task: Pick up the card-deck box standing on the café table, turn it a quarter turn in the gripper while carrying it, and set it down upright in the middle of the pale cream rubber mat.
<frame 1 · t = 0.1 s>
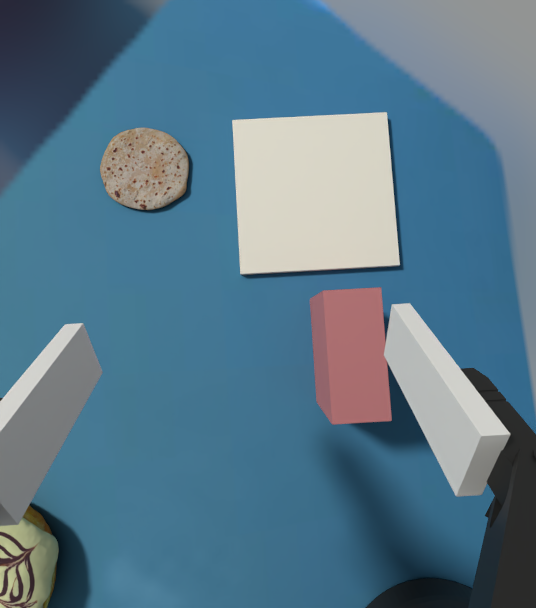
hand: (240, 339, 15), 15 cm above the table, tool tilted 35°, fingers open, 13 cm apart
serving mat: (314, 194, 31), on the table
flatbread: (148, 173, 31), on the table
decorated donut: (8, 557, 29), on the table
card deck box: (335, 348, 30), on the table
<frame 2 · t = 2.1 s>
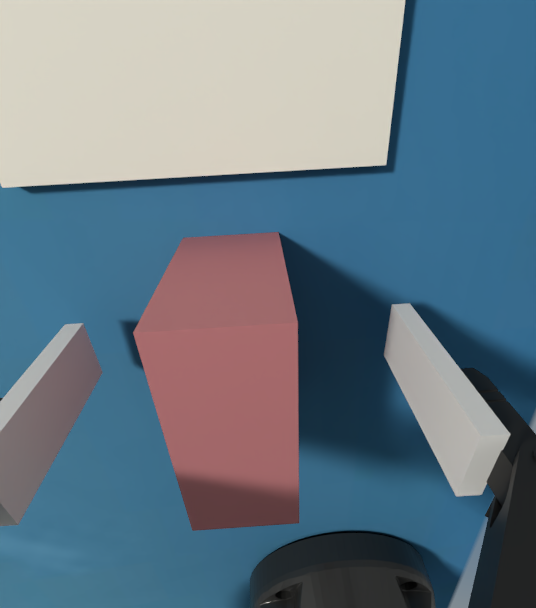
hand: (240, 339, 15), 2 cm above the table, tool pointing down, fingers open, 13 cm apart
card deck box: (240, 323, 17), on the table
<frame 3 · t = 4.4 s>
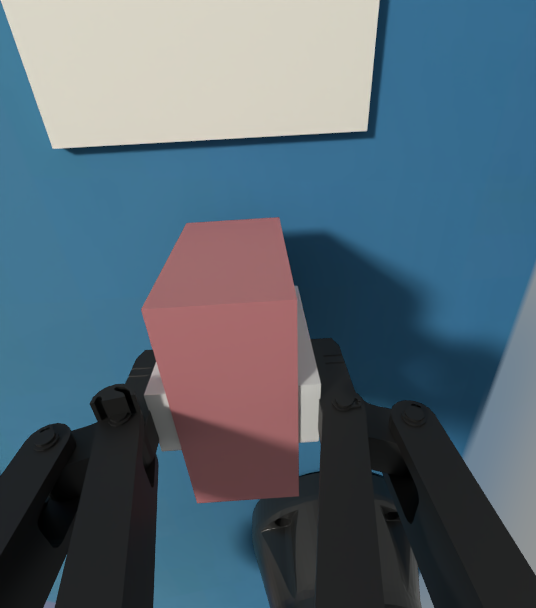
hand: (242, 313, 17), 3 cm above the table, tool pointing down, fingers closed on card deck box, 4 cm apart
card deck box: (242, 308, 17), point 3 cm above the table, touching gripper
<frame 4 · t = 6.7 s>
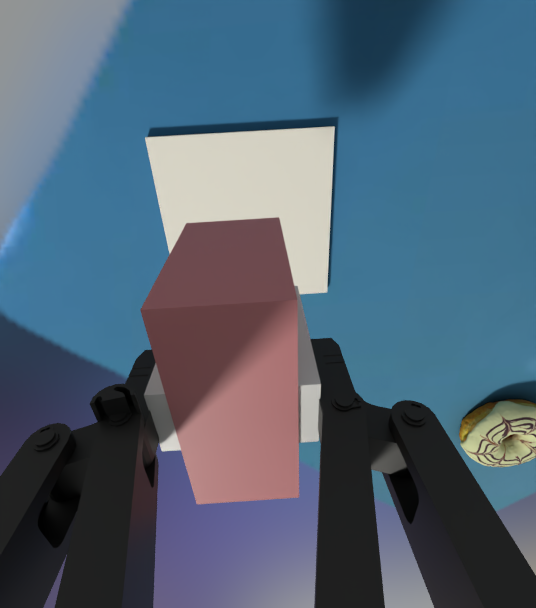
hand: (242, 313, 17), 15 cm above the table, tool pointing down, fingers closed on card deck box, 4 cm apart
serving mat: (247, 222, 29), on the table
decorated donut: (496, 419, 44), on the table
card deck box: (242, 308, 17), point 14 cm above the table, touching gripper
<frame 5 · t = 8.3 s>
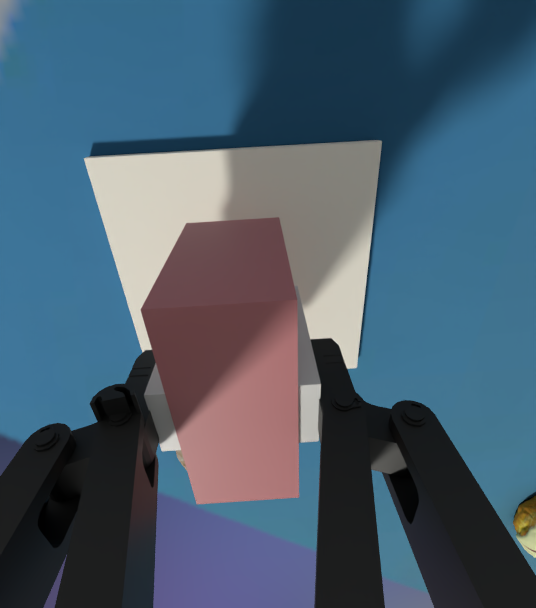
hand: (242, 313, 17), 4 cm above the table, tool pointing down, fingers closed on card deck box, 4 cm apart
serving mat: (245, 277, 20), on the table
card deck box: (242, 308, 17), point 4 cm above the table, touching gripper
when the fingers open (1 cm above the table, at t = 9.2 s): card deck box stays where it is, resting on serving mat.
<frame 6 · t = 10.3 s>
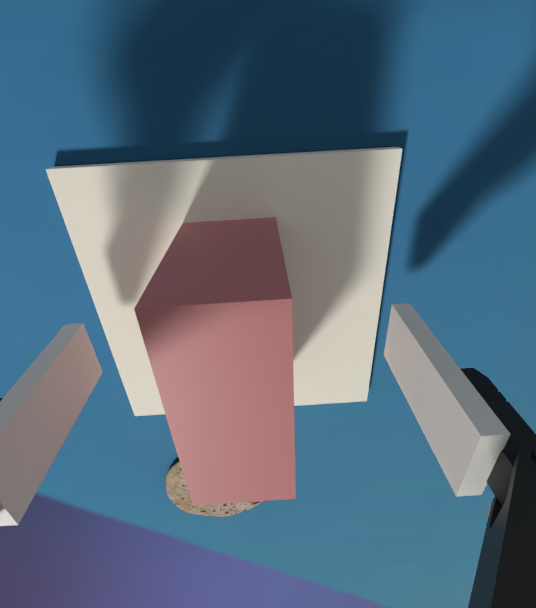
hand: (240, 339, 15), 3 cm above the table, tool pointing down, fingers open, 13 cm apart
serving mat: (241, 303, 17), on the table
flatbread: (219, 474, 26), on the table
card deck box: (239, 309, 17), point 1 cm above the table, touching serving mat
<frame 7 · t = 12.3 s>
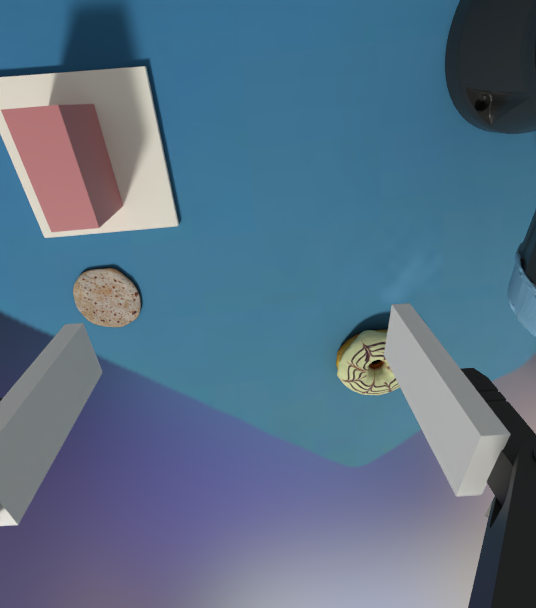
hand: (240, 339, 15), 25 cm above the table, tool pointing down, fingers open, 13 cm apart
serving mat: (91, 160, 33), on the table
flatbread: (109, 295, 41), on the table
decorated donut: (370, 352, 49), on the table
card deck box: (88, 160, 32), point 1 cm above the table, touching serving mat
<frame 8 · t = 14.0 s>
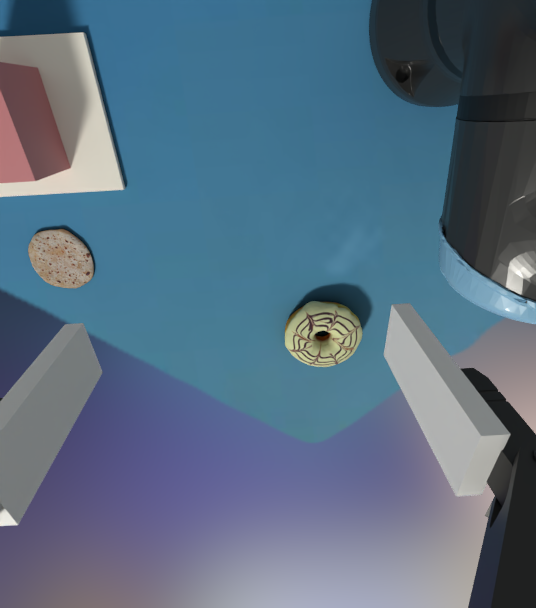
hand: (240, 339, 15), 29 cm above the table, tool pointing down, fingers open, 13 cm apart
serving mat: (39, 122, 35), on the table
flatbread: (64, 257, 43), on the table
decorated donut: (320, 325, 50), on the table
card deck box: (35, 122, 35), point 1 cm above the table, touching serving mat
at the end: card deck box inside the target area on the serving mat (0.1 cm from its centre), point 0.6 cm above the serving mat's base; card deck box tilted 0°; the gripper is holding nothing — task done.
